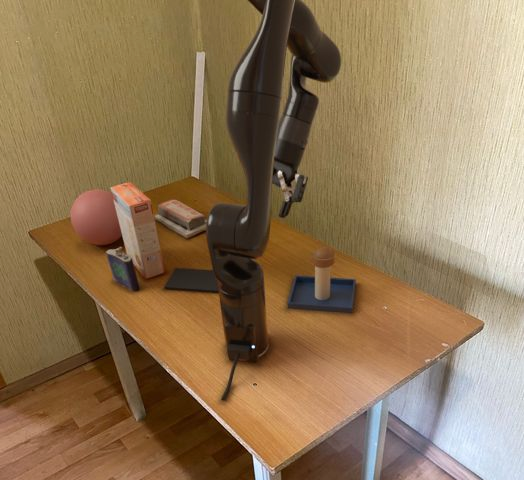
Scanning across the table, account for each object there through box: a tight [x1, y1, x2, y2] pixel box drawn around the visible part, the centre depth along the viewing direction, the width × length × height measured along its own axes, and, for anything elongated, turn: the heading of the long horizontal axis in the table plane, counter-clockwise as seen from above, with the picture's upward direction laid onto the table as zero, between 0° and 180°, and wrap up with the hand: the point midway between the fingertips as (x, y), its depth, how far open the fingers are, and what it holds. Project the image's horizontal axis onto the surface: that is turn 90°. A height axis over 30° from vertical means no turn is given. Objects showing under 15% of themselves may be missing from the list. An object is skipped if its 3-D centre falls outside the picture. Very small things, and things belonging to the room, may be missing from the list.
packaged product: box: [154, 199, 207, 239], centre depth 160 cm, size 18×5×10 cm
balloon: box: [70, 188, 123, 246], centre depth 152 cm, size 15×20×15 cm
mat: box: [164, 267, 219, 294], centre depth 136 cm, size 9×20×1 cm, turn 78°
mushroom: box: [311, 246, 336, 300], centre depth 124 cm, size 5×5×13 cm
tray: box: [286, 274, 357, 314], centre depth 128 cm, size 12×15×2 cm
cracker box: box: [110, 181, 166, 280], centre depth 137 cm, size 14×6×21 cm, turn 31°
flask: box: [105, 246, 141, 292], centre depth 134 cm, size 9×3×11 cm, turn 50°
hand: (267, 210), depth 124 cm, fingers open, 8 cm apart
